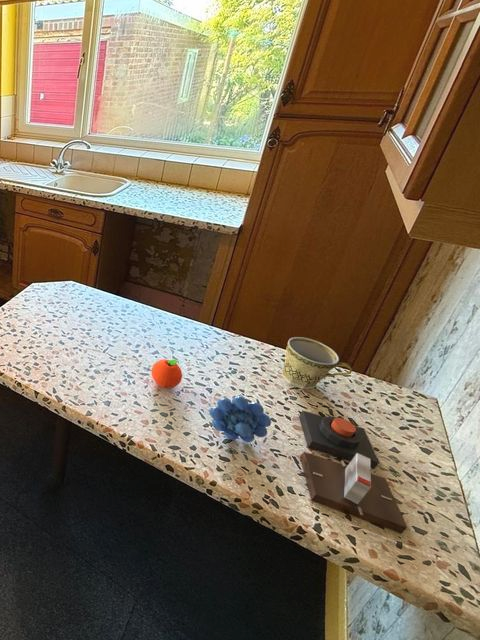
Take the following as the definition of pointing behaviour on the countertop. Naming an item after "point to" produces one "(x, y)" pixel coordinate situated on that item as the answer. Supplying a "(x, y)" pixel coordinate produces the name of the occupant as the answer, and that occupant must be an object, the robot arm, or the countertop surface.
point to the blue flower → (240, 419)
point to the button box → (335, 439)
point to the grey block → (357, 478)
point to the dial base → (329, 491)
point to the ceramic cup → (309, 362)
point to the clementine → (166, 373)
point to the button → (343, 427)
